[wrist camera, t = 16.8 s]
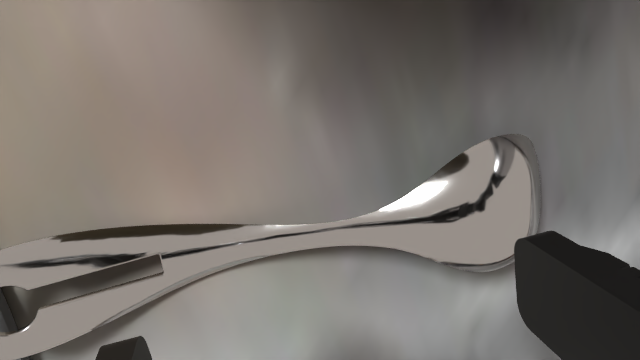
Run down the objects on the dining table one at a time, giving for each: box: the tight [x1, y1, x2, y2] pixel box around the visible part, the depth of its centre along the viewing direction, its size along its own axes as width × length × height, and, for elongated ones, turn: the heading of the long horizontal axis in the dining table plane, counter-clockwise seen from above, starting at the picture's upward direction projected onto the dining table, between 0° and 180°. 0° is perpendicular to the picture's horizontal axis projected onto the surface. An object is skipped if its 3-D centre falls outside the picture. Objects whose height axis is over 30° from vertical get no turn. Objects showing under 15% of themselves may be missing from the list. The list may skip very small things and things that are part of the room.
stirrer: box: [0, 134, 541, 360], centre depth 15 cm, size 20×4×5 cm
